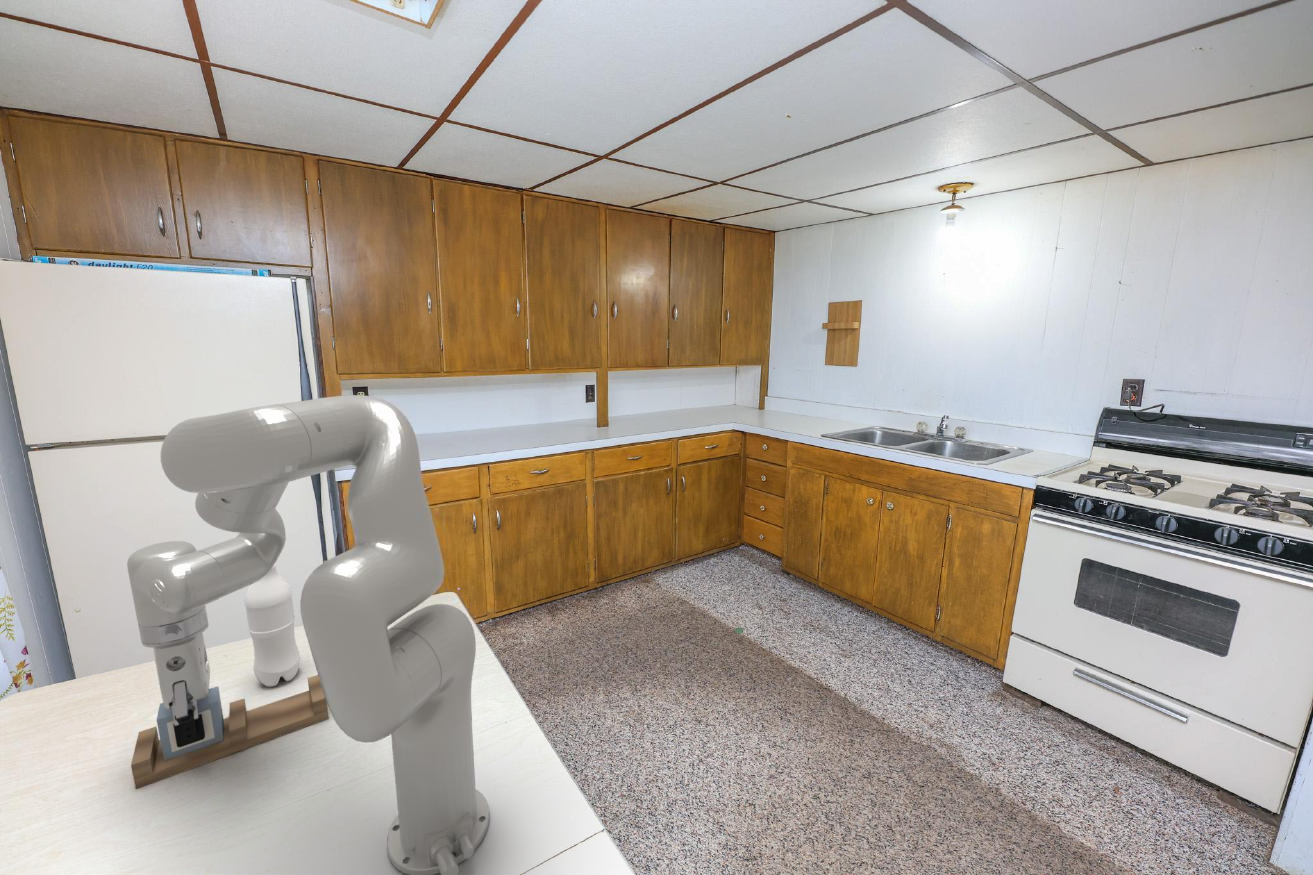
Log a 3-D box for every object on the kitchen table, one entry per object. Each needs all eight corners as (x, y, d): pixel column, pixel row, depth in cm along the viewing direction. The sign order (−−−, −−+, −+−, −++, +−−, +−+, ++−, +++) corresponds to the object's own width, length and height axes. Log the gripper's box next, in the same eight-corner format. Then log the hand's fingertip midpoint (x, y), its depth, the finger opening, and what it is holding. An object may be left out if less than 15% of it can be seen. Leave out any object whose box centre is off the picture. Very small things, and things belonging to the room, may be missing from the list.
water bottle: (248, 682, 100) (229, 558, 95) (288, 662, 106) (273, 544, 101) (269, 694, 97) (251, 567, 92) (309, 673, 103) (295, 552, 98)
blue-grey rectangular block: (223, 740, 84) (217, 700, 83) (164, 761, 80) (156, 720, 78) (224, 723, 87) (218, 686, 86) (167, 743, 83) (159, 703, 82)
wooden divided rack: (328, 718, 91) (326, 697, 90) (135, 788, 77) (130, 765, 76) (322, 693, 97) (320, 673, 97) (143, 754, 83) (138, 731, 82)
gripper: (204, 642, 75) (222, 753, 79) (209, 595, 88) (224, 691, 92) (131, 661, 71) (153, 778, 74) (147, 608, 84) (166, 709, 87)
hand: (192, 729), depth 83 cm, fingers open, 5 cm apart
